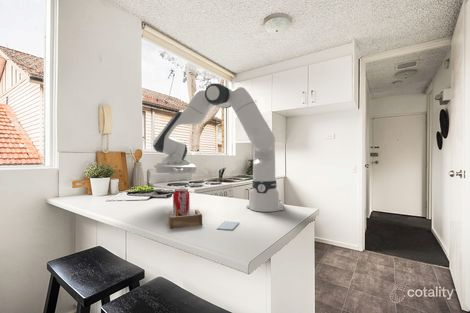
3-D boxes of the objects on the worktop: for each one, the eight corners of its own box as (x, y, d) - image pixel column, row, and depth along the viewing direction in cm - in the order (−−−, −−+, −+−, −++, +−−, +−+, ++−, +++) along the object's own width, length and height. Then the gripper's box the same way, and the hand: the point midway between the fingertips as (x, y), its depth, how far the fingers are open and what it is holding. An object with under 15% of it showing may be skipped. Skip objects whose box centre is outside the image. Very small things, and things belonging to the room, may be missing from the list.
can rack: (168, 221, 92) (168, 212, 92) (197, 218, 96) (197, 209, 96) (170, 228, 83) (170, 217, 83) (202, 224, 87) (202, 214, 87)
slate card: (224, 223, 90) (224, 221, 90) (239, 224, 89) (239, 222, 89) (216, 231, 82) (216, 228, 82) (232, 232, 80) (232, 229, 80)
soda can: (174, 219, 96) (174, 190, 96) (172, 215, 102) (172, 188, 102) (191, 217, 98) (190, 189, 98) (188, 213, 105) (187, 187, 105)
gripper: (154, 159, 116) (157, 165, 104) (192, 160, 126) (200, 166, 114) (153, 171, 117) (156, 178, 105) (191, 171, 127) (198, 178, 115)
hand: (179, 172), depth 110 cm, fingers closed
